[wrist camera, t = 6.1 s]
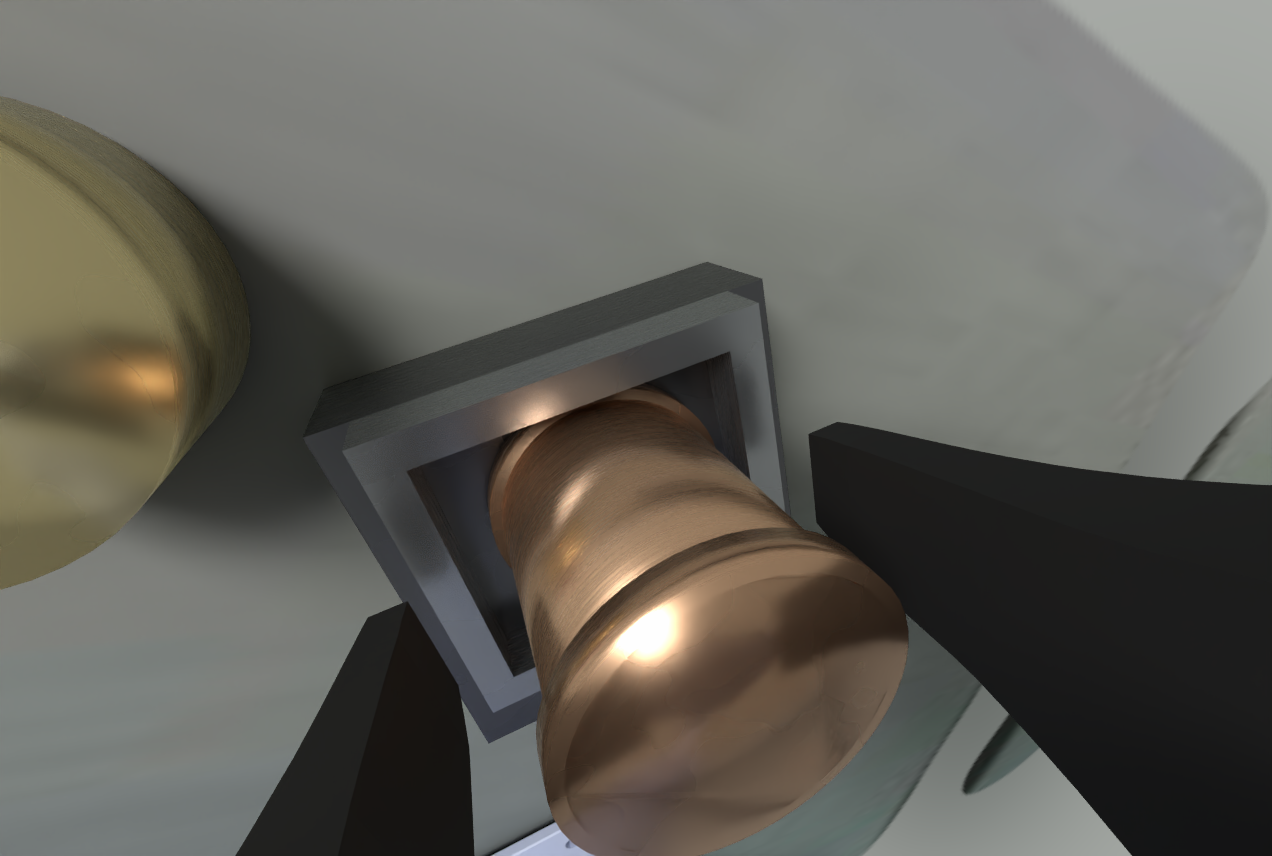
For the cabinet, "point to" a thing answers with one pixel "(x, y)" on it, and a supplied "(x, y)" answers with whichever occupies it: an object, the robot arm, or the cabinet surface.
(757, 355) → the gray square open box
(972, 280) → the cabinet surface
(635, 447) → the copper flared cylinder
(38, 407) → the gold short rounded piece
